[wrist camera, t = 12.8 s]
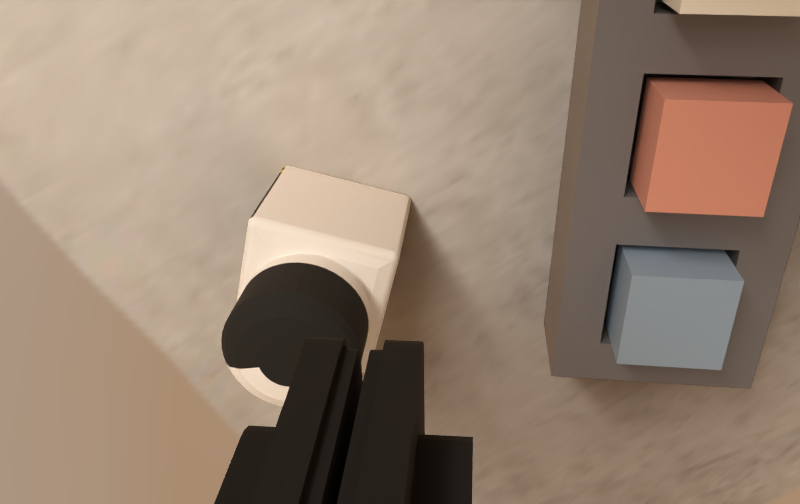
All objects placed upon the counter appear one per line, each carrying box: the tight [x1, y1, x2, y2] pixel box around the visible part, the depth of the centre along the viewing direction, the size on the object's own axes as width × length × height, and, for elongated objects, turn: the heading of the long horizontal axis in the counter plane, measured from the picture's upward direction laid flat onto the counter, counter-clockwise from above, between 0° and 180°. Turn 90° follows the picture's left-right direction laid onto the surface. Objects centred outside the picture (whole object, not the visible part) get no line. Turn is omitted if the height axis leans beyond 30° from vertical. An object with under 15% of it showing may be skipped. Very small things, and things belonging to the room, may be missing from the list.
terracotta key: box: [630, 77, 793, 217], centre depth 31 cm, size 5×5×4 cm
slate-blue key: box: [606, 245, 744, 370], centre depth 35 cm, size 5×5×4 cm
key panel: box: [544, 0, 800, 389], centre depth 34 cm, size 26×10×5 cm, turn 0°
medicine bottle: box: [222, 166, 411, 407], centre depth 36 cm, size 7×7×12 cm
